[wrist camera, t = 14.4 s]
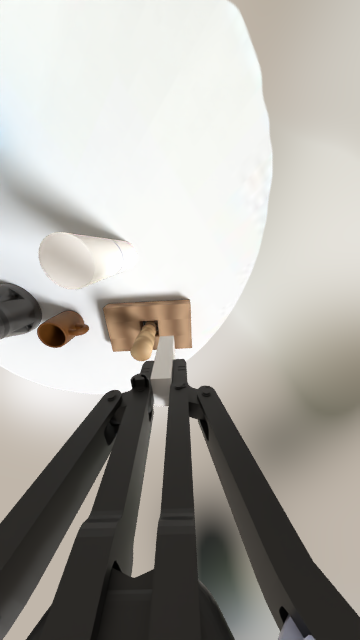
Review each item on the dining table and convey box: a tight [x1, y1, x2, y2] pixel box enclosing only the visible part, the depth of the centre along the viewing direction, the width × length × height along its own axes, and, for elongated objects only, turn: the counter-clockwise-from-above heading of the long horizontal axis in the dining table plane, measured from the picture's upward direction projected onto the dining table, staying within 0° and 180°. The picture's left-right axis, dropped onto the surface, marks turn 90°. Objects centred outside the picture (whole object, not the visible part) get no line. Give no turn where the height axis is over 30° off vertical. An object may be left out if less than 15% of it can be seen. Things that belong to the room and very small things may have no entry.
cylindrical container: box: [39, 232, 138, 289], centre depth 34 cm, size 7×7×25 cm
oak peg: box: [131, 320, 157, 361], centre depth 46 cm, size 5×5×16 cm
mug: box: [37, 311, 89, 348], centre depth 48 cm, size 12×8×9 cm, turn 94°
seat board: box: [103, 300, 192, 352], centre depth 51 cm, size 24×14×4 cm, turn 93°
